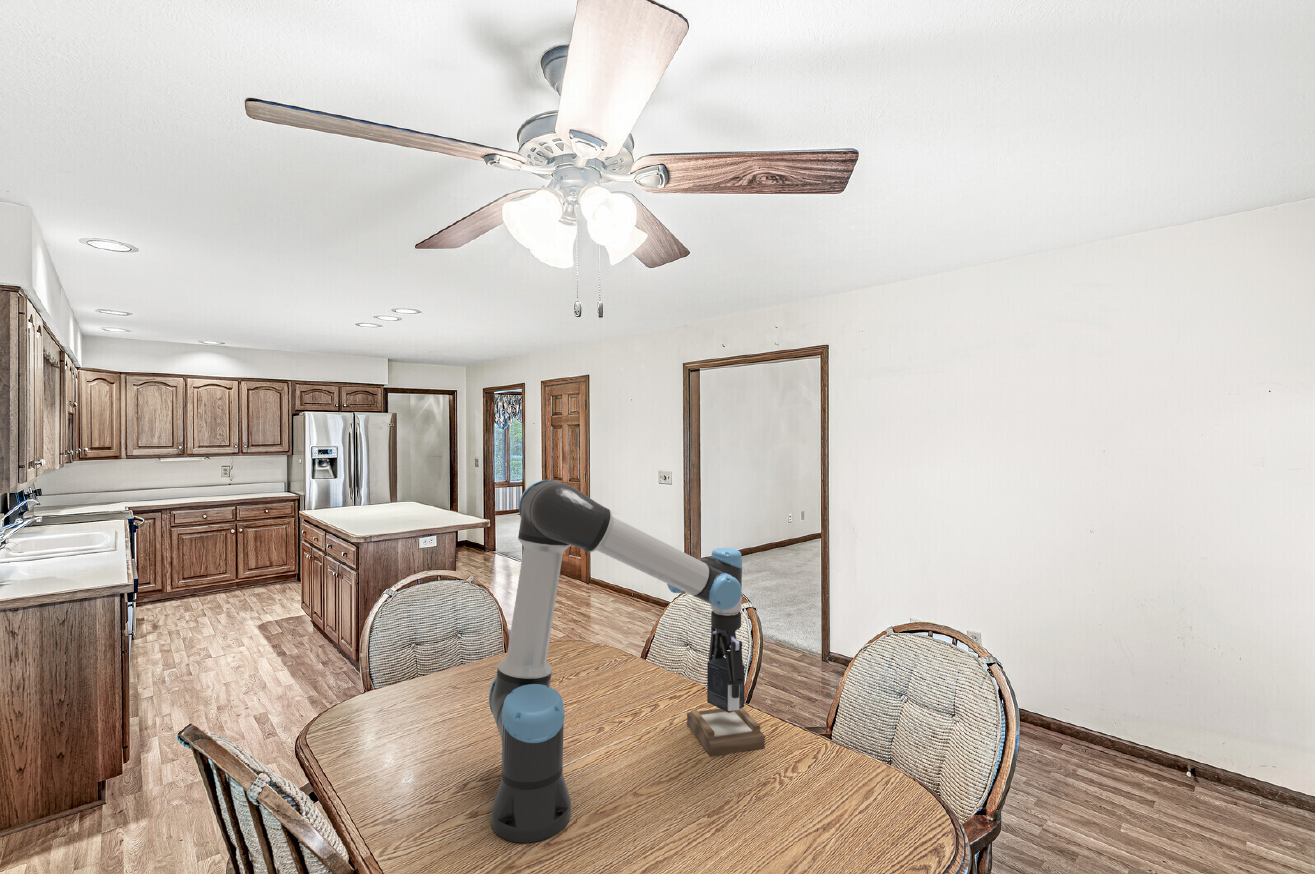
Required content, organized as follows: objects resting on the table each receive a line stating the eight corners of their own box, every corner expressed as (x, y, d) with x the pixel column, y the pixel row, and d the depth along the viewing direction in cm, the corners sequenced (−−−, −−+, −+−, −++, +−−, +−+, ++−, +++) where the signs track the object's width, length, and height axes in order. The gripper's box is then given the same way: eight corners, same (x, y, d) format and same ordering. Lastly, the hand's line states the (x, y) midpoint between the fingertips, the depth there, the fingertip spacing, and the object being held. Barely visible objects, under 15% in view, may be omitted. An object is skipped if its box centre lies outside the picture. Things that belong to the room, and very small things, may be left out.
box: (744, 707, 146) (745, 664, 146) (728, 713, 142) (729, 670, 142) (722, 696, 152) (722, 655, 152) (706, 702, 148) (706, 660, 148)
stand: (764, 747, 141) (764, 729, 141) (710, 756, 137) (710, 736, 137) (736, 717, 156) (736, 700, 156) (687, 724, 152) (687, 706, 152)
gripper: (759, 623, 137) (758, 718, 137) (722, 598, 158) (721, 681, 158) (730, 625, 135) (729, 723, 135) (696, 600, 156) (695, 684, 156)
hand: (725, 700), depth 147 cm, fingers closed on box, 9 cm apart
